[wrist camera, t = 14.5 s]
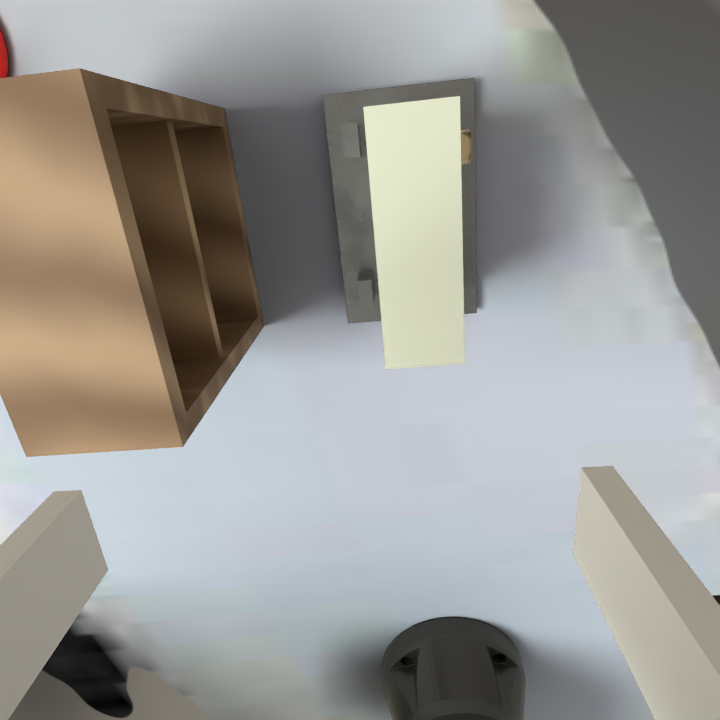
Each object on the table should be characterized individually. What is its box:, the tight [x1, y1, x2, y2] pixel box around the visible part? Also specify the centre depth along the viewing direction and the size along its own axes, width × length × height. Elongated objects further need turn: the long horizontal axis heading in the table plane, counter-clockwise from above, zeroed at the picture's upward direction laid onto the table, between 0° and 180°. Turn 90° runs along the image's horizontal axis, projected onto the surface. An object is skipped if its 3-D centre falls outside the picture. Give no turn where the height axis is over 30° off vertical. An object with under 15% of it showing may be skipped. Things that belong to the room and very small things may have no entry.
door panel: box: [363, 96, 472, 369], centre depth 29 cm, size 12×5×14 cm, turn 6°
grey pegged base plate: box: [322, 78, 477, 323], centre depth 35 cm, size 16×10×4 cm, turn 6°
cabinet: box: [0, 68, 264, 457], centre depth 30 cm, size 16×8×18 cm, turn 6°
